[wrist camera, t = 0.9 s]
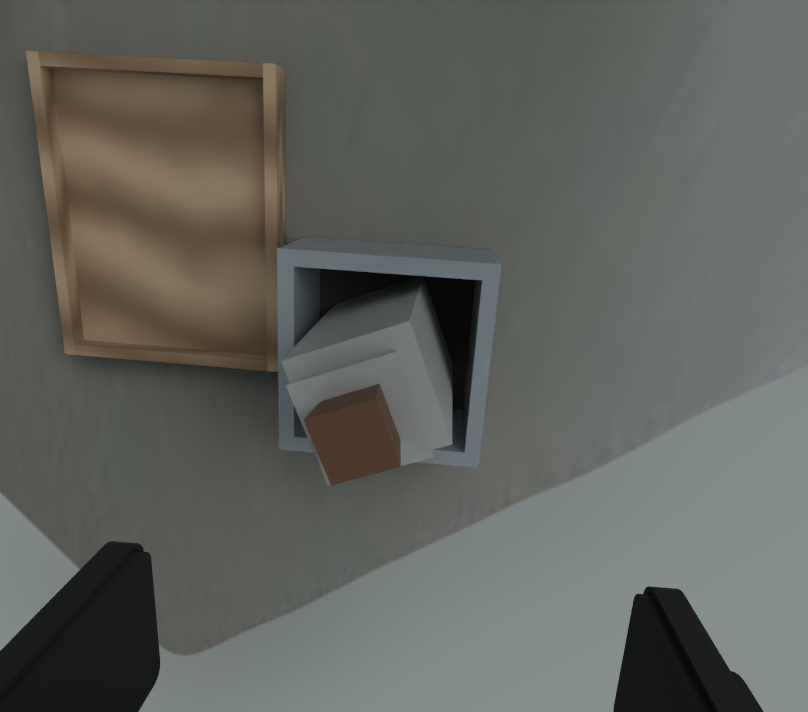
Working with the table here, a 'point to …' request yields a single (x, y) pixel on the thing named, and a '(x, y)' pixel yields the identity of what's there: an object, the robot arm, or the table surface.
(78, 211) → the tray
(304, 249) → the grey storage bin
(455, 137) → the table surface
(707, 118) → the table surface
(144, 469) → the table surface
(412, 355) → the perfume bottle
